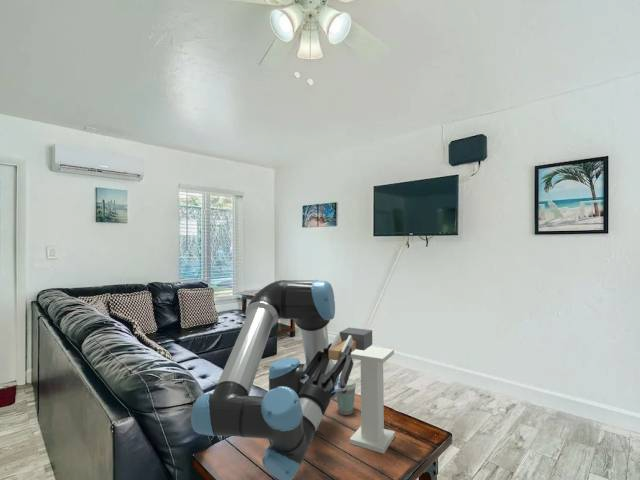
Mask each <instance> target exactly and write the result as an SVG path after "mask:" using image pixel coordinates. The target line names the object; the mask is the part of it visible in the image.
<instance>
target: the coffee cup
mask: <svg viewBox="0 0 640 480" xmlns="http://www.w3.org/2000/svg"><path fill="white" fill-rule="evenodd" d="M356 388H357V384H356V382H355V380H353V379H351V378H349V379H348V382H347V385H346V389H347V391H346V393H342V391H339V392H337V396H336V400H337V410H338V414H340V415H342V416H350V415H352V414H353V413H354V404H355V395H356Z"/></svg>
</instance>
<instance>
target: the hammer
mask: <svg viewBox="0 0 640 480" xmlns="http://www.w3.org/2000/svg"><path fill="white" fill-rule="evenodd" d="M339 334H340V336H341V340H342V342H341V343H340V344H338V345H336V346H334V347H333V348H331V349H329V359H331V360H332V361H333V360H334V361H338V359H339V358H340V357H341V350H342V348H343V346H344V344H345V342H346V340H347V338H348V336H349V335H351V336H352V339H353V345H352V347H351V348H352V352H353V351H354V350H356V349H357V350H365V349H367V348H368V347H370V346H373V330H371V329H365V328H364V329H363V328H356V327H347V328H345V329H343V330H341V331H339Z"/></svg>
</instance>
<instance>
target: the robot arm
mask: <svg viewBox="0 0 640 480" xmlns="http://www.w3.org/2000/svg"><path fill="white" fill-rule="evenodd" d="M334 293H335V292H334V288H333V286H332V284H331V283H330V282H329V281H327V280H319V279H314V280H310V279H307V280H302V279H301V280H297V279H296V280H295V279H293V280H290V279H289V280H286V279H284V280H283V279H282V280H281V279H280V280H276V281H273V282H270V283H269V284H267V285H266V286H265V285H264V287H263V288H262V289H260V290H259V291H258V292H257V293H255V295H254V296H253V297H252V298H251V299H250V301H249V302H248V305H247V307H246V309H245V320H244V322H243V325H242V327H241V329H240V332H239V334H238V336H237V338H236V340H235V343H234V345H233V347H232V349H231V353H230V354H229V356H228V359H227V361H226V364H225V365H224V368H223V370H222V373H221V374H220V376H219V379H218V381H217V384H216V386H215V389H214V390H213V392H208V393H202V394H201V395H200V396H198V397H197V399H196V400H195V402H194V404H193V406H192V410H191V411H192V412H191V416H190V418H191V419H190V420H191V426H192V430H193V431H194V432H195V434H199V435H205V436H210V437H215V436H216V437H240V438H250V439H252V438H253V439H267V440H268V441H269V445H268V447H266V448H265V452H264V455H263V456H262V460H261V462H262V466H263V468H264V469H265V471H266V472H267V473H269V475H271V476H272V477H274V478H275V479H277V480H293V479H294V478H295V476H296V474H297V472H298V470H299V468H300V467H302V462H303V461H304V458H305V456H306V454H307V451H308V450H309V447H310V445H311V443H312V440H313V438H314V436H315V434H316V432H317V430H318V428H319V425H320V423H321V421H322V420H323V416H324V415H325V413H326V411H327V409H328V407H329V405H330V403H331V399H335V398H337V392H339V391H342V393H346V391H347V389H346V385H347V382H348V379H350V376H351V373H352V370H353V367H354V359H352V357H351V356H350V354H351V352H352V348H351V347H352V345H353V339H352V336H351V335H349V336H348V338H347V340H346V342H345V344H344V346H343V348H342V350H341V357H340V358H339V359H338V360H336V362H334V361H333V360H332V359H329V349H331V348H333V347H334V346H336V345H338V344H340V343H341V342H342V340H341V336H340V333H337V334H336V336H335V337H334V340H332V343H330V342H329V336H328V335H329V334H328V325H329V323H330V322H331V320H333V319H334V318H335V314H336V301H335V294H334ZM282 319H284V320H294V324H295V325H296V327H298V329H299V330H300V333H301V338H302V339H301V341H302V346H303V351H304V359H305V362H304V363H301V361H300V359H298V358H295V357H288V358H282V359H278V360H277V361H274V362H273V363H271V364H270V366H269V370H268V371H269V372H268V391H267V392H266V393H265V395H264V396H261V395H250V392H251V390H252V386H253V384H254V382H255V378H256V375H257V372H258V369H259V366H260V363H261V360H262V357H263V354H264V351H265V349H266V345H267V344H268V343H267V342H268V339H269V336H270V334H271V330H272V328H273V327H274V326H276V324H277V323H278V321H279V320H282Z"/></svg>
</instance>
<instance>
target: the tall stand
mask: <svg viewBox="0 0 640 480" xmlns="http://www.w3.org/2000/svg"><path fill="white" fill-rule="evenodd" d="M394 354H395V349H392V348H386V347H385V348H384V347H378V346H373V345H371V346H370V347H368V348H367V349H365V350H357V349H356V350H354V351H353V352H351V354H350V356H351V357H352V360H359V361H360V426H359V427H358V428H357V430H356V431H355V432H354V433H353V434H352V435H351V437H350V438H349V444H350V445H354V446H357V447H360V448H363V449H368V450H370V451H373V452H377V453H380V454H382V455H383V454H385V453H386V451H387V450H388V448H389V446H390V445H391V443H392V442H393V440H394V438H395V436H396V431H394V430H390V429H387V428H385V423H384V422H385V417H384V415H385V414H384V413H385V411H384V410H385V406H384V405H385V403H384V402H385V401H384V399H385V398H384V363H385V362H387V361H388V360H389V359H390V358H391V357H393V355H394Z"/></svg>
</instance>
